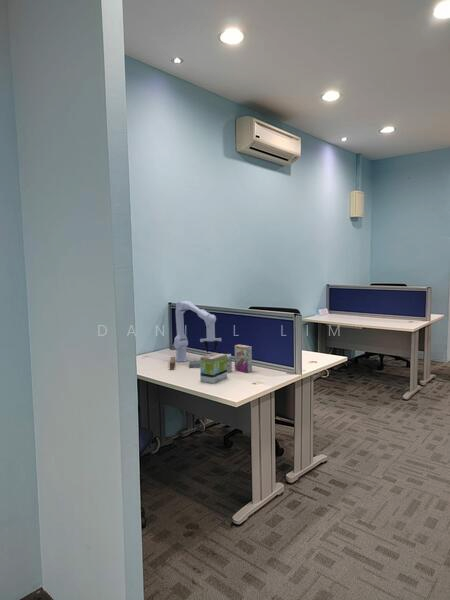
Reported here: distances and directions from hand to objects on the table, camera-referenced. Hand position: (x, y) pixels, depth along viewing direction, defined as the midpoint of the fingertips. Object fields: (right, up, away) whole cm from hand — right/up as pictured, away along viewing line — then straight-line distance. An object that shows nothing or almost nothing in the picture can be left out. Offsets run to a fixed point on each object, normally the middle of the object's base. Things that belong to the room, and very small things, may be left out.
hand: (211, 351), depth 268 cm
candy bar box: (+22, -11, -14) cm, 28 cm away
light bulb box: (+8, -11, -15) cm, 20 cm away
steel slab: (-10, -10, 0) cm, 14 cm away
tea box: (+3, -12, -33) cm, 35 cm away
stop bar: (-26, -10, -1) cm, 28 cm away
